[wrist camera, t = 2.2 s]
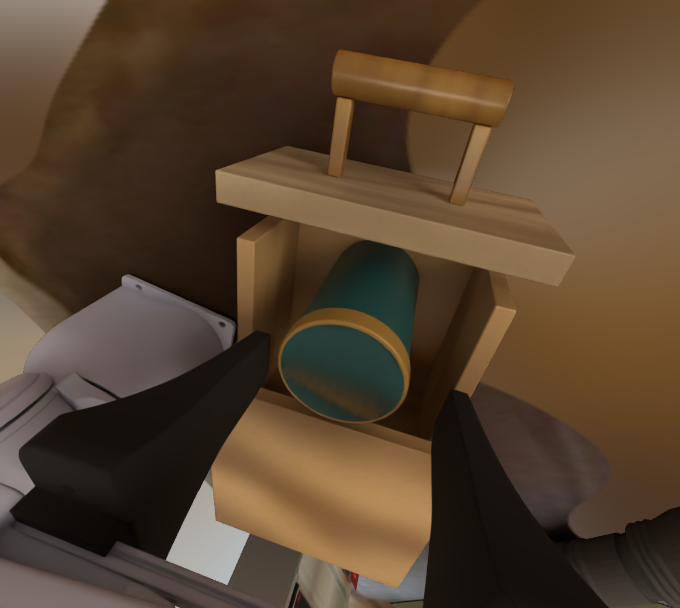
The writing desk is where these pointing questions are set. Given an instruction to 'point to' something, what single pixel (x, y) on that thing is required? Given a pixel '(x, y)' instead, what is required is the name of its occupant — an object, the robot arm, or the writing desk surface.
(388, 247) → the tea tin
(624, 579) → the flashlight
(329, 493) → the cabinet
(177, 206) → the writing desk surface
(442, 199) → the drawer
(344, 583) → the cassette tape recorder
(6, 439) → the robot arm
